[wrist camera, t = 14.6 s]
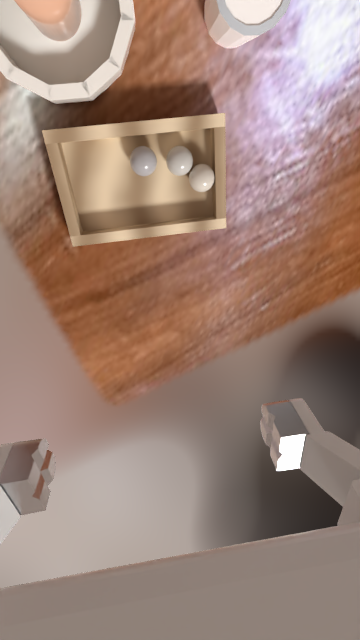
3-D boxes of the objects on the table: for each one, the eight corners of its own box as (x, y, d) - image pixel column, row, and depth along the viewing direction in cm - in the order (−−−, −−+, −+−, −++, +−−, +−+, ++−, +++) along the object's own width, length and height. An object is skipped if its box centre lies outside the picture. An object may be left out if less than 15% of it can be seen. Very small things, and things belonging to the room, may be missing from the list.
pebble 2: (201, 158, 33) (180, 139, 32) (185, 183, 34) (164, 166, 33) (193, 156, 36) (173, 139, 34) (179, 179, 37) (158, 163, 35)
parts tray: (218, 115, 35) (224, 113, 32) (220, 223, 41) (226, 227, 38) (48, 131, 33) (41, 130, 31) (76, 240, 39) (73, 246, 37)
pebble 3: (210, 162, 36) (217, 162, 34) (211, 189, 38) (218, 191, 35) (185, 164, 36) (190, 165, 33) (187, 192, 37) (192, 194, 35)
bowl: (117, -115, 26) (115, -146, 23) (142, 96, 33) (143, 92, 30) (-62, -107, 25) (-87, -139, 22) (5, 109, 32) (-7, 105, 29)
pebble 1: (127, 174, 33) (151, 164, 32) (122, 147, 33) (146, 136, 32) (141, 184, 36) (163, 174, 35) (136, 158, 36) (158, 149, 35)
